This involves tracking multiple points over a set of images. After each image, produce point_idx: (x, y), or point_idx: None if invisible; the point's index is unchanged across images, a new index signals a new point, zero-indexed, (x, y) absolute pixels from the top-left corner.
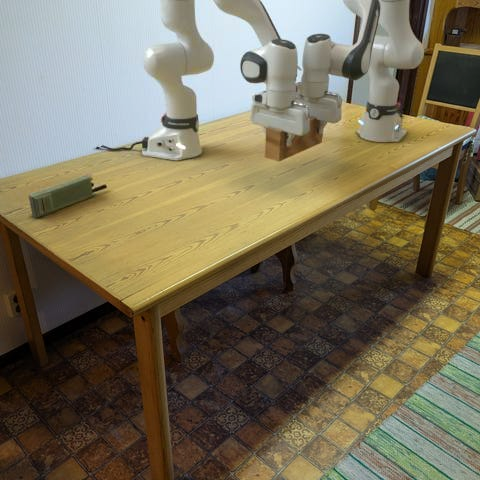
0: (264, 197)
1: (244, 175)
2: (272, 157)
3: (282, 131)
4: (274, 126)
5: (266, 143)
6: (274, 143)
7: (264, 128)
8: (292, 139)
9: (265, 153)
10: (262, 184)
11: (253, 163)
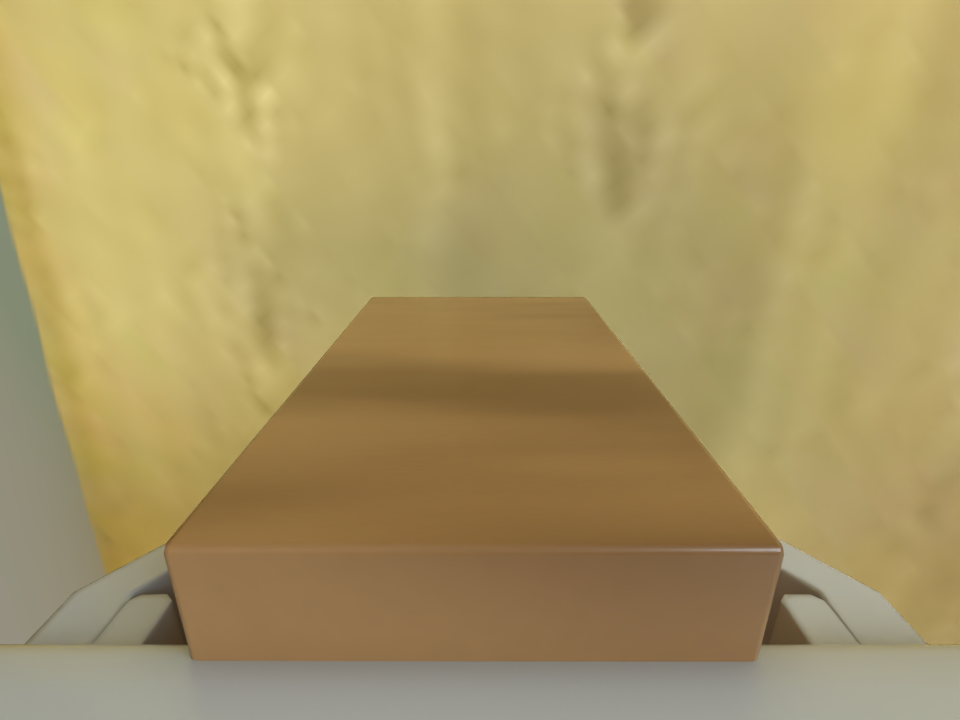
0: (415, 81)
1: (774, 311)
2: (470, 304)
3: (191, 616)
4: (533, 717)
5: (611, 359)
6: (433, 374)
7: (876, 620)
8: None
9: (587, 308)
10: (574, 269)
11: (826, 506)
